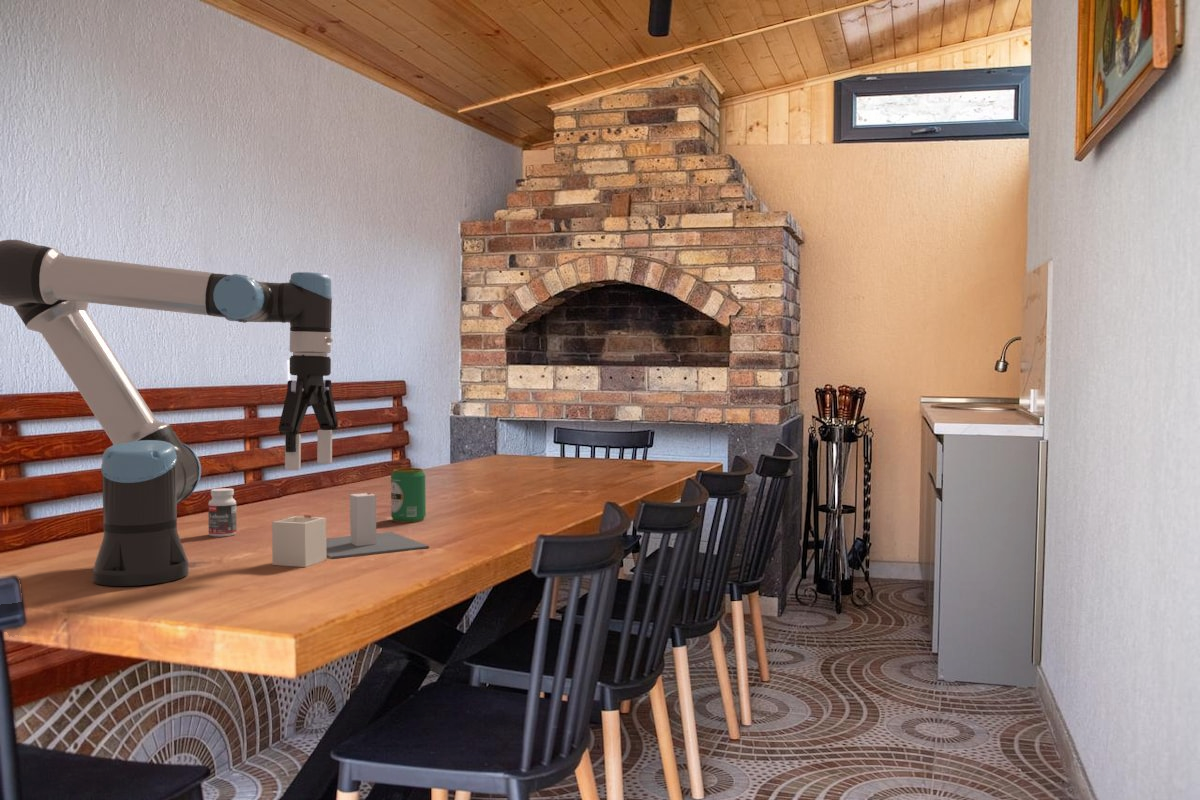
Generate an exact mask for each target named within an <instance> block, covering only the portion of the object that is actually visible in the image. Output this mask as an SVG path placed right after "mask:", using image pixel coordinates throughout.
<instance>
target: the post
mask: <svg viewBox="0 0 1200 800" xmlns="http://www.w3.org/2000/svg"><path fill="white" fill-rule="evenodd" d="M349 508H350V512H349V514H350V516H349V517H350V518H349V520H350V535H347V536H346V535H345V536H338V537H326V553H327V558H329V559H341V558H350V557H360V556H368V555H377V554H385V553H394V552H395V553H396V552H405V551H413V550H421V549H429V548H430V546H429V545H428V544H424V543H422V542H420V541H417V540H414V539H412V538H409V537H406V536H404V535H400V534H398V533H396V532H393V531H389V532H387V531H386V532H378V533H377V495H376V494H373V493H372V492H364V493H363V492H361V493H352V494H351V493H350V494H349Z"/></svg>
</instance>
